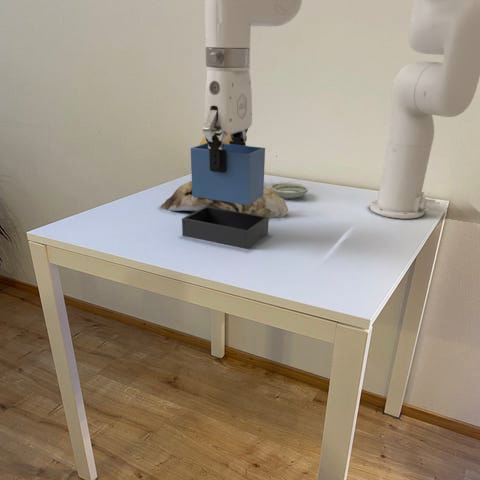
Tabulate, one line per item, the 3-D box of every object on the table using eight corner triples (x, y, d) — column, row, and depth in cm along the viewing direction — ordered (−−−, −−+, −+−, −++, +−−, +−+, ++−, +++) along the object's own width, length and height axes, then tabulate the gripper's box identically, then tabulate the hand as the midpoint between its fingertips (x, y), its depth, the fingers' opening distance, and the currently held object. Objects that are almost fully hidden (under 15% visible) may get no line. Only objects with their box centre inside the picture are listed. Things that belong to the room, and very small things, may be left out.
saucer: (306, 192, 127) (307, 183, 126) (308, 202, 119) (309, 193, 118) (270, 190, 128) (271, 181, 126) (269, 201, 119) (269, 191, 118)
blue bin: (263, 195, 93) (265, 147, 89) (248, 205, 88) (249, 155, 83) (210, 187, 98) (209, 141, 93) (192, 196, 93) (190, 148, 88)
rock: (172, 160, 117) (293, 162, 111) (177, 198, 123) (293, 201, 116) (147, 182, 105) (283, 185, 98) (154, 223, 110) (283, 228, 104)
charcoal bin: (267, 236, 98) (268, 217, 96) (247, 251, 91) (248, 231, 89) (206, 224, 103) (206, 205, 101) (182, 237, 96) (181, 218, 94)
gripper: (223, 63, 73) (224, 180, 82) (268, 59, 86) (264, 160, 95) (181, 61, 76) (186, 175, 85) (231, 58, 89) (231, 156, 98)
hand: (228, 166), depth 90 cm, fingers closed on blue bin, 7 cm apart
